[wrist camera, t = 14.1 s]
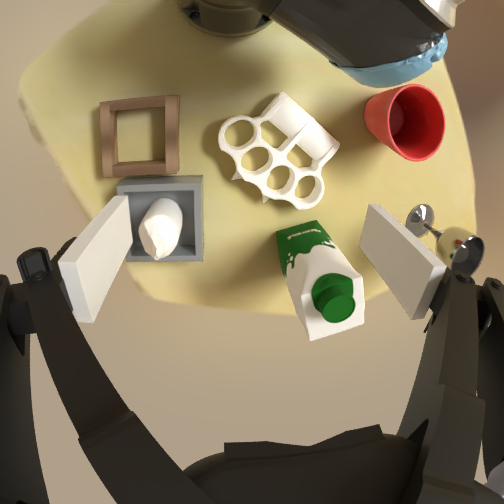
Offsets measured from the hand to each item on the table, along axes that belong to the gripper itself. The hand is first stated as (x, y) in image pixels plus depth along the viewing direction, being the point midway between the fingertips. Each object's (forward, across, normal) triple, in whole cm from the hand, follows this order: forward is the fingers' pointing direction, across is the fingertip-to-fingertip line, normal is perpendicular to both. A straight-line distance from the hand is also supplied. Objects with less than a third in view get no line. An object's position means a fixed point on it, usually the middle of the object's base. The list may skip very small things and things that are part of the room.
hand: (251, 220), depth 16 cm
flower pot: (+30, +23, +6) cm, 39 cm away
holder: (+29, -14, +1) cm, 32 cm away
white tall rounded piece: (+28, -10, -12) cm, 32 cm away
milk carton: (+29, +12, -17) cm, 36 cm away
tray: (+29, -10, -12) cm, 33 cm away
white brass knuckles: (+30, +6, -2) cm, 31 cm away
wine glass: (+30, +36, -11) cm, 48 cm away
